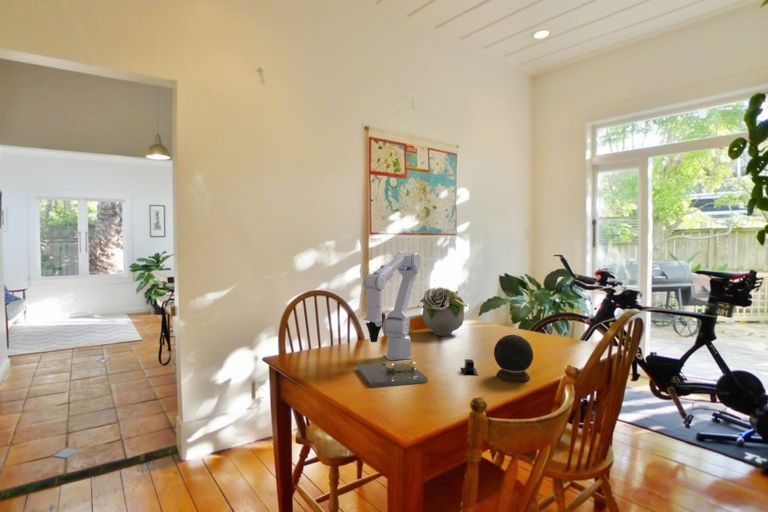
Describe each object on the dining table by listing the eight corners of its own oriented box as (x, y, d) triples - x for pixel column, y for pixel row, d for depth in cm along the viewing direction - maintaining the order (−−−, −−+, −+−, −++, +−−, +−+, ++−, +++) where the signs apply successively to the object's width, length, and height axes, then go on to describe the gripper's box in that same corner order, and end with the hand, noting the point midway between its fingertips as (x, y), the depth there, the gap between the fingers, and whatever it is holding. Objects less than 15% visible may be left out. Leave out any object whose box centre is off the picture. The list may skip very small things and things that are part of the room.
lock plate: (407, 365, 160) (407, 361, 160) (427, 382, 140) (427, 377, 140) (356, 369, 154) (356, 365, 154) (370, 387, 135) (370, 382, 135)
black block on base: (481, 378, 146) (481, 365, 146) (460, 378, 147) (460, 365, 147) (476, 368, 159) (476, 356, 158) (457, 367, 159) (457, 355, 159)
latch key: (387, 371, 145) (387, 364, 145) (385, 369, 148) (385, 362, 148) (416, 370, 147) (416, 363, 147) (414, 367, 150) (414, 361, 150)
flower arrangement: (417, 338, 204) (417, 289, 204) (421, 328, 229) (421, 284, 228) (468, 341, 200) (469, 290, 200) (466, 330, 225) (467, 285, 224)
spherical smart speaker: (539, 383, 140) (540, 339, 140) (501, 384, 139) (502, 339, 139) (523, 371, 153) (524, 331, 153) (488, 372, 152) (489, 331, 152)
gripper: (359, 303, 163) (359, 338, 163) (368, 309, 149) (368, 347, 149) (376, 303, 165) (376, 337, 165) (387, 308, 151) (387, 345, 151)
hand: (373, 341), depth 158 cm, fingers closed
